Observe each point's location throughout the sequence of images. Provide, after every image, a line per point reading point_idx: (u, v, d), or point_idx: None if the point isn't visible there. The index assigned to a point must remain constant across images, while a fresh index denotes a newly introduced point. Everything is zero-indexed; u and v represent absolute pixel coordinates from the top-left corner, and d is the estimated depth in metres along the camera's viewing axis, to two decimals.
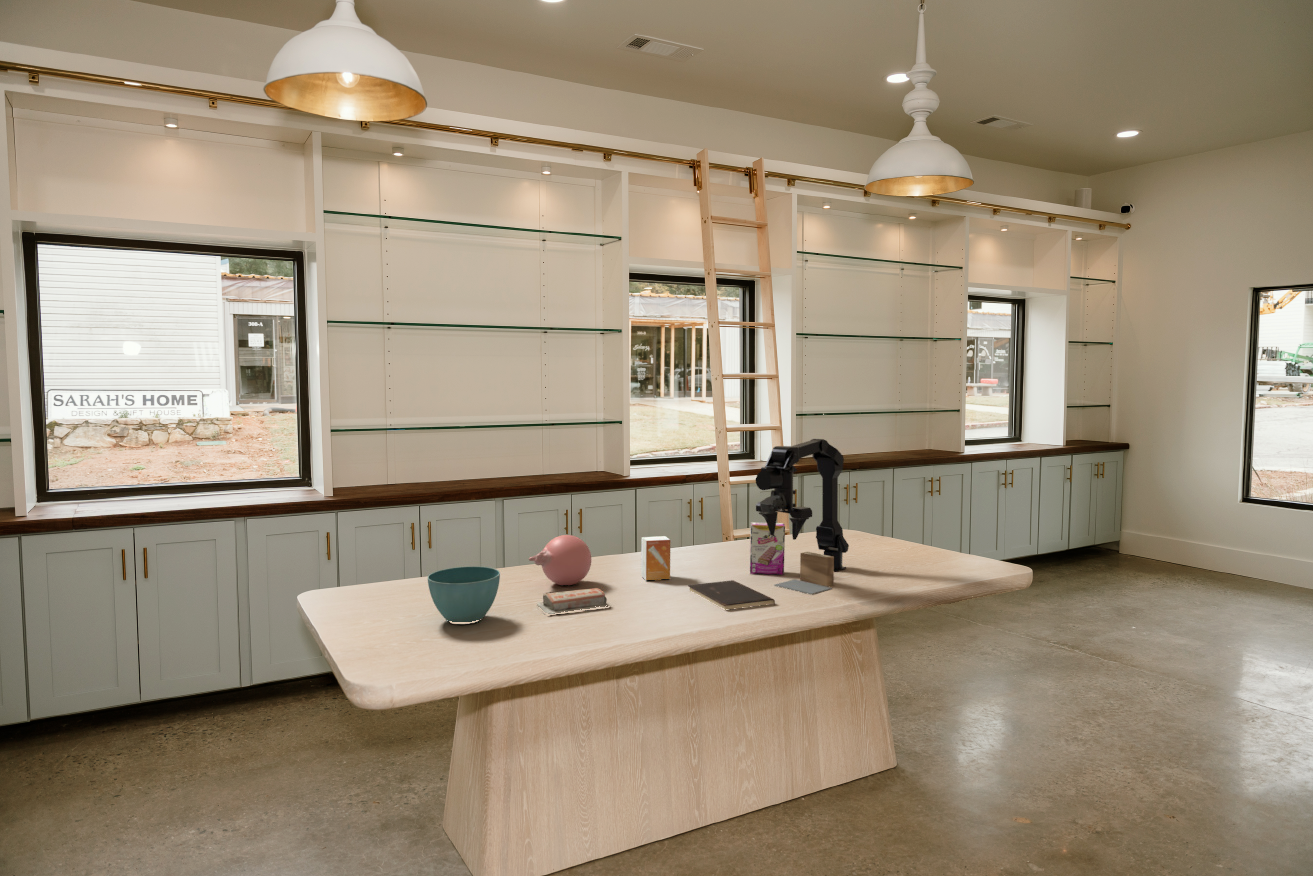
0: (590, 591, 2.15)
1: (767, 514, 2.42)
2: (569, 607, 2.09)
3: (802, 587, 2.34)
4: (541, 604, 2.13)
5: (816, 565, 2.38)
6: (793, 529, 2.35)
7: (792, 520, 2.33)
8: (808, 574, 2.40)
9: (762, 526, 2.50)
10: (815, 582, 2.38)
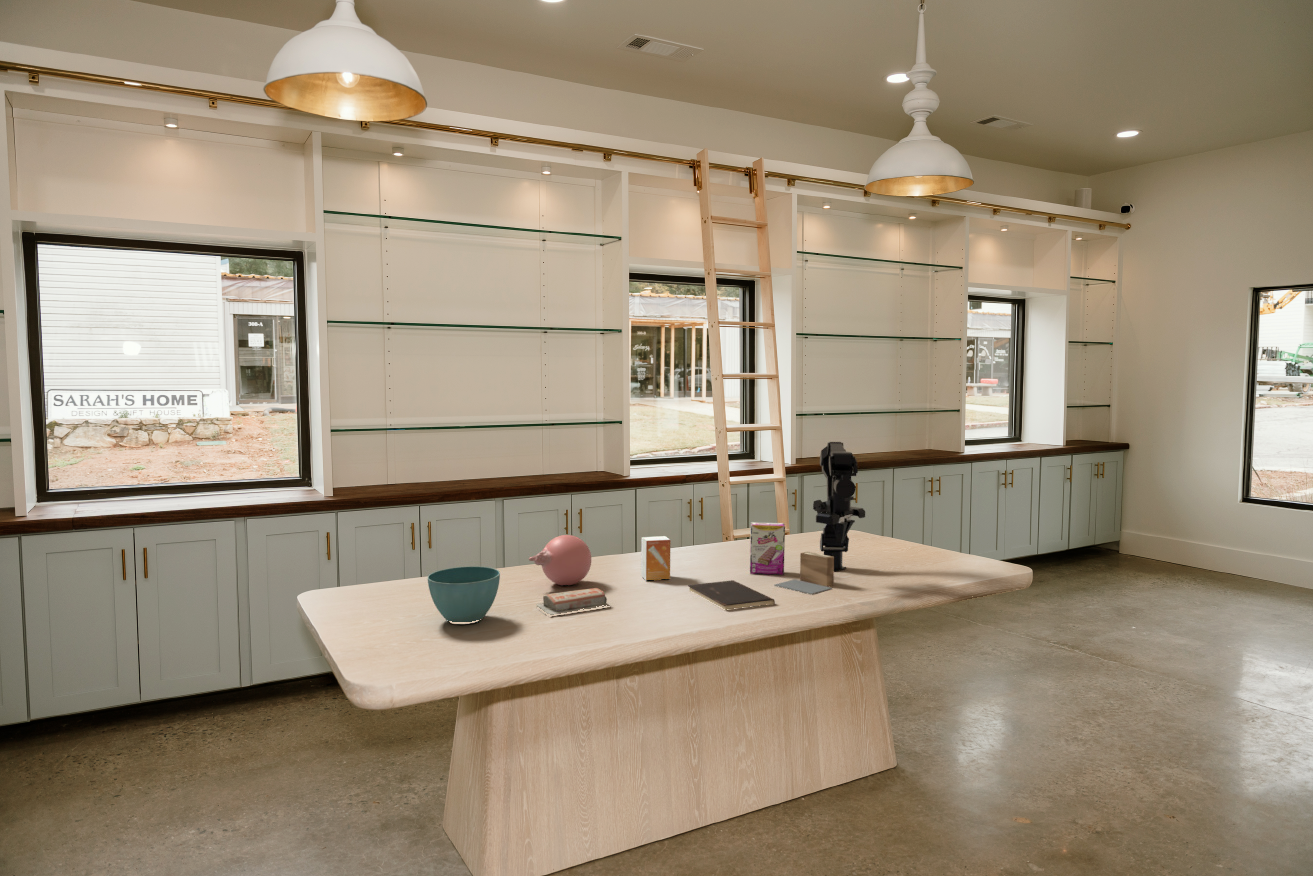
0: (590, 591, 2.15)
1: None
2: (570, 607, 2.09)
3: (802, 587, 2.34)
4: (541, 605, 2.12)
5: (816, 565, 2.38)
6: None
7: None
8: (808, 574, 2.40)
9: (762, 526, 2.50)
10: (815, 582, 2.38)
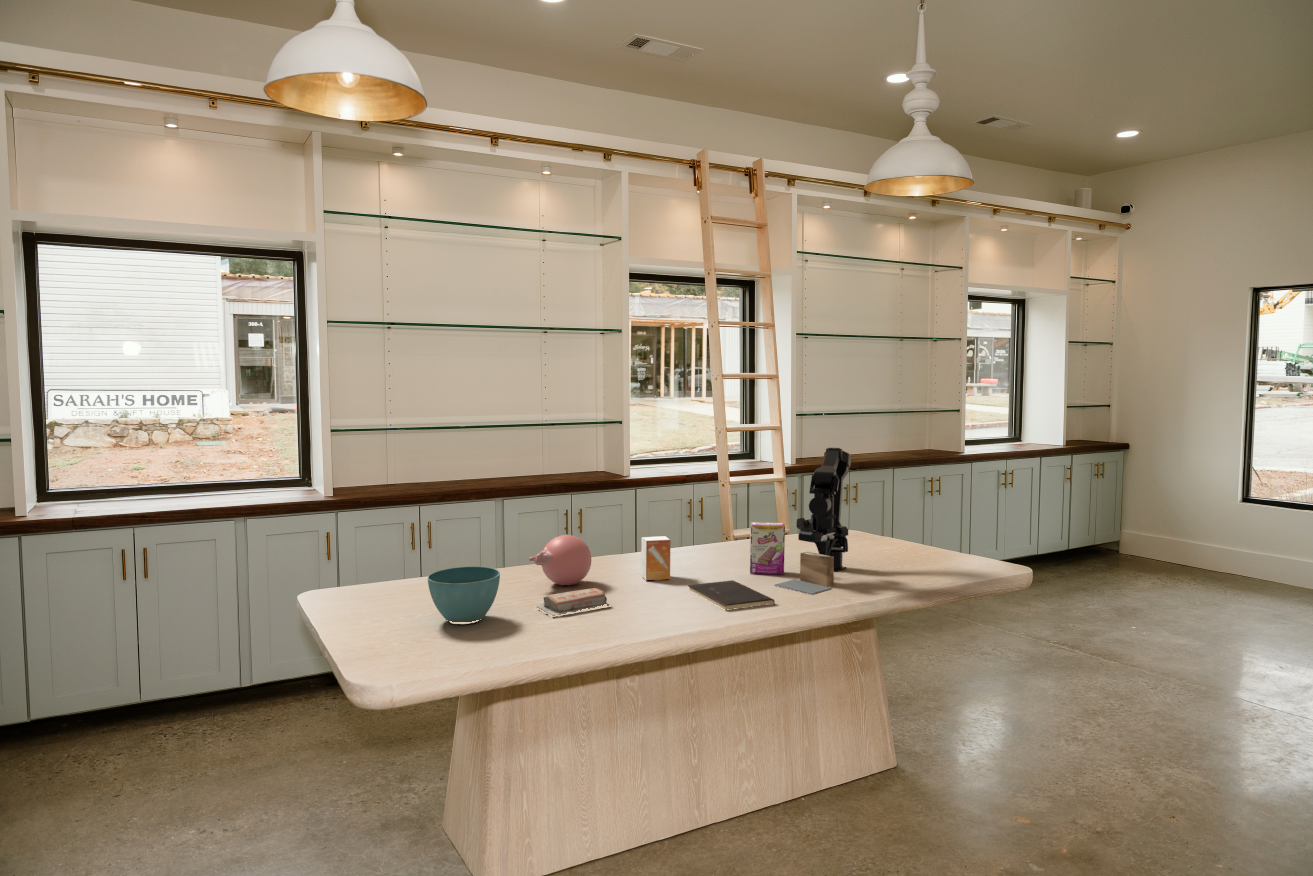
0: (590, 591, 2.15)
1: None
2: (572, 608, 2.08)
3: (802, 587, 2.34)
4: (542, 606, 2.11)
5: (816, 565, 2.38)
6: None
7: None
8: (808, 574, 2.40)
9: (762, 526, 2.50)
10: (815, 582, 2.38)
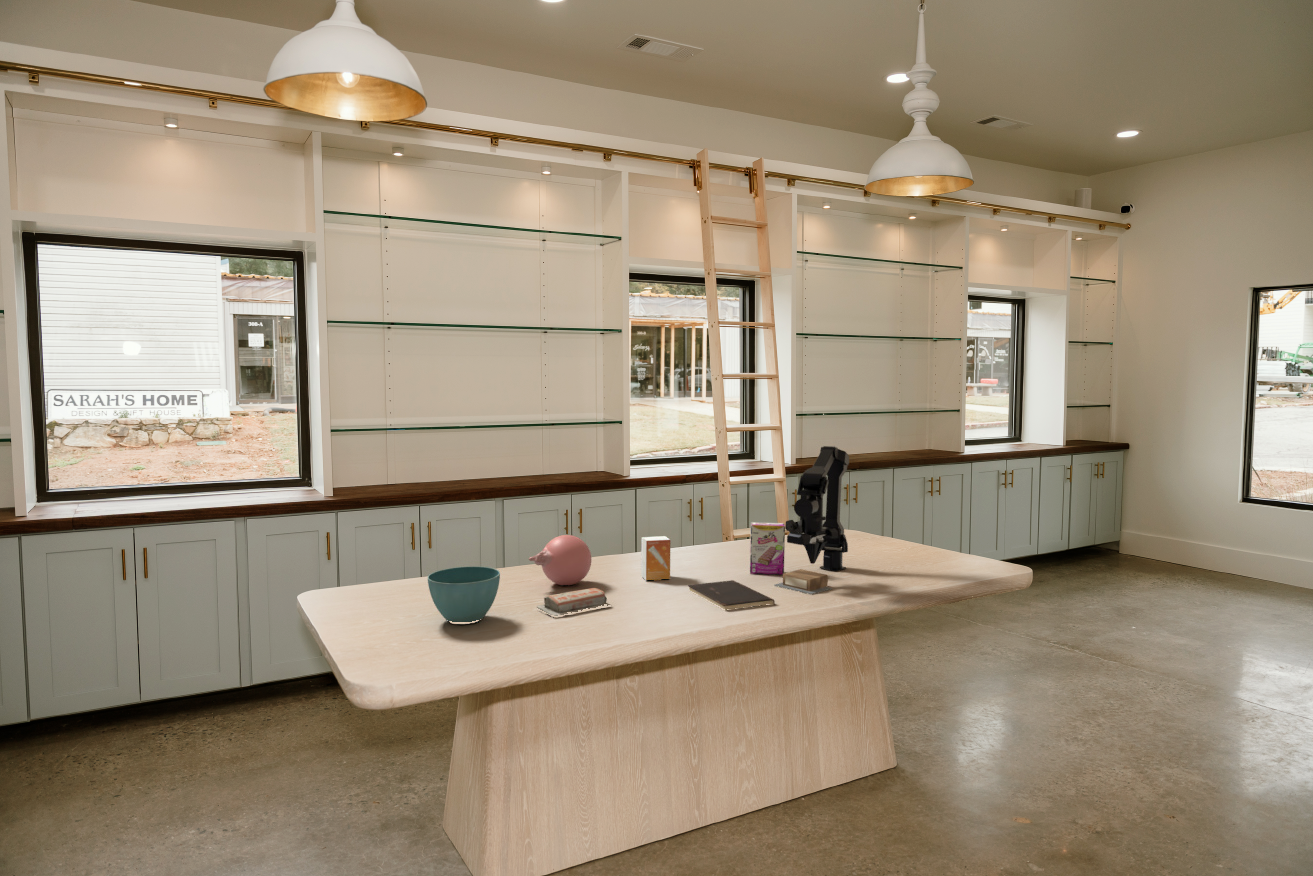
0: (590, 591, 2.15)
1: None
2: (573, 608, 2.08)
3: None
4: (542, 606, 2.10)
5: None
6: None
7: None
8: None
9: (762, 526, 2.50)
10: None
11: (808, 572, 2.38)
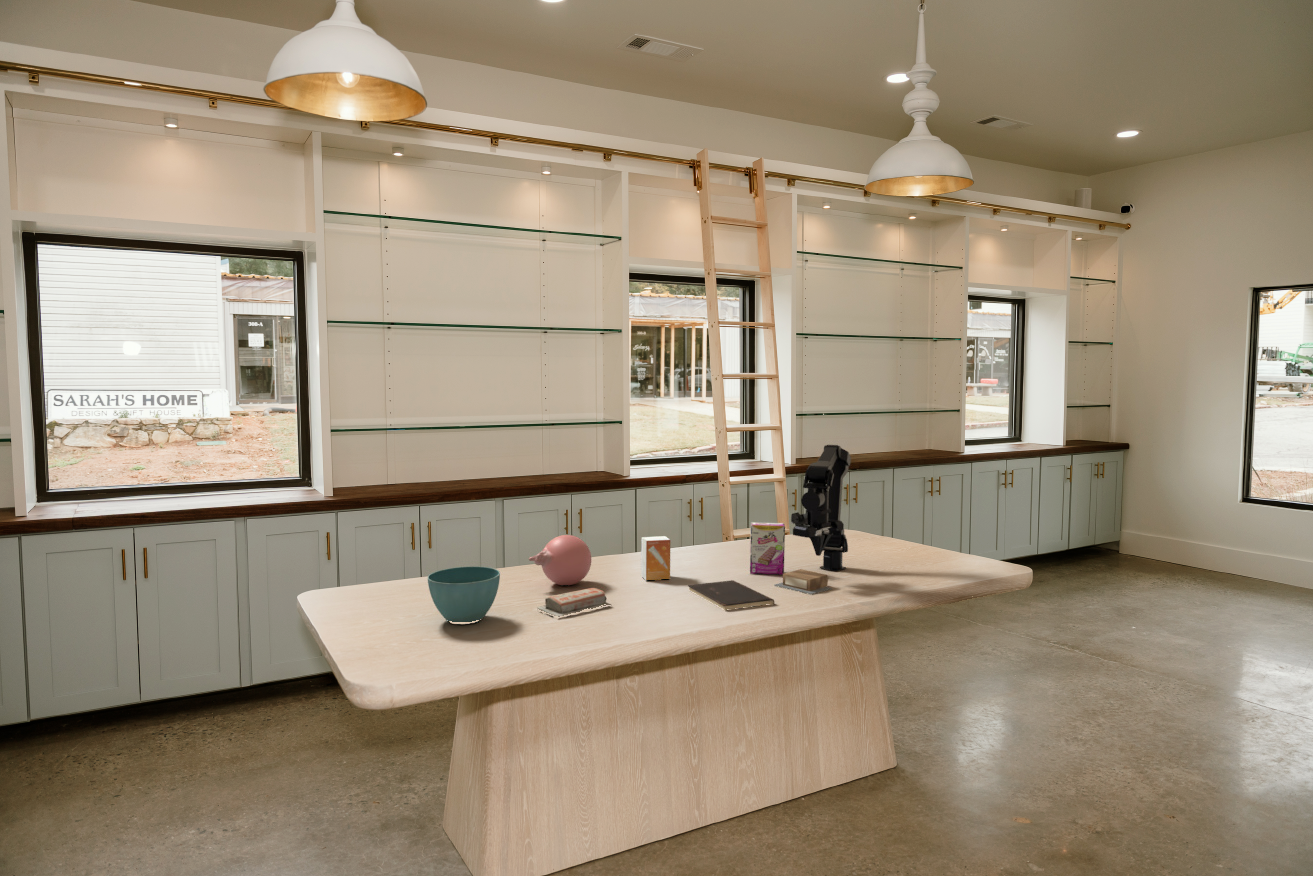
0: (590, 591, 2.15)
1: None
2: (575, 608, 2.08)
3: None
4: (543, 608, 2.09)
5: None
6: None
7: None
8: None
9: (762, 526, 2.50)
10: None
11: (808, 572, 2.38)
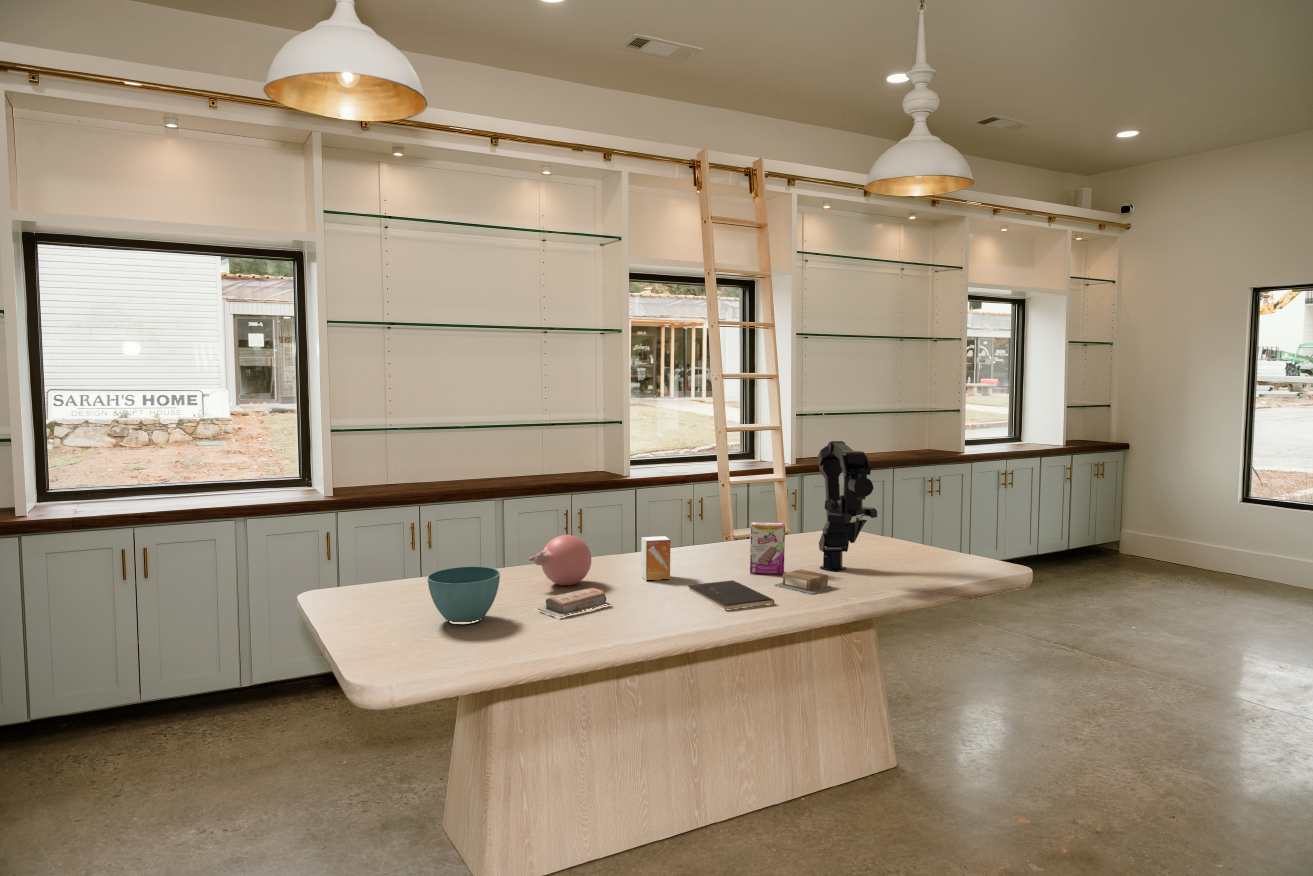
0: (590, 591, 2.15)
1: None
2: (576, 608, 2.08)
3: None
4: (544, 608, 2.09)
5: None
6: None
7: None
8: None
9: (762, 526, 2.50)
10: None
11: (808, 572, 2.38)
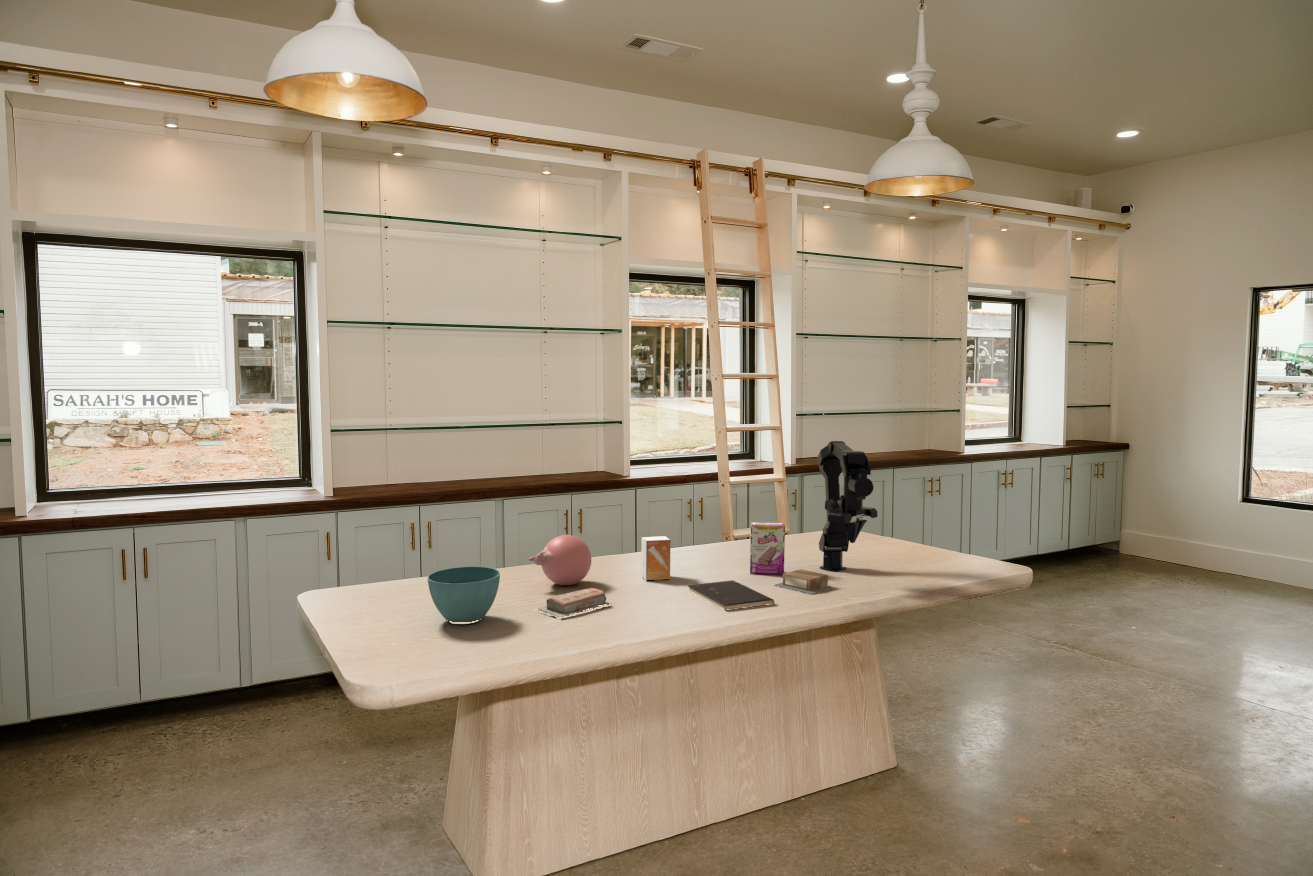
0: (590, 591, 2.15)
1: None
2: (577, 608, 2.08)
3: None
4: (544, 608, 2.08)
5: None
6: None
7: None
8: None
9: (762, 526, 2.50)
10: None
11: (808, 572, 2.38)
